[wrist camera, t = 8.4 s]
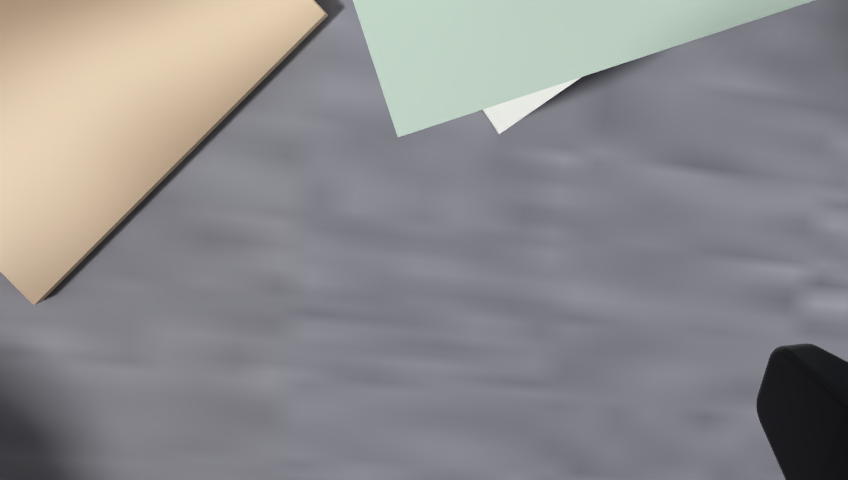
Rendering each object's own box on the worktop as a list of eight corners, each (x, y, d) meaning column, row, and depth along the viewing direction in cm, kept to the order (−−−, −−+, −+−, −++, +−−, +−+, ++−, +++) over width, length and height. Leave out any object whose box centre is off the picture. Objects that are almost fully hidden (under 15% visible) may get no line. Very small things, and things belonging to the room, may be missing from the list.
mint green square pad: (328, 15, 20) (325, 14, 20) (41, 301, 22) (33, 304, 22) (10, -332, 19) (0, -340, 19) (-261, -3, 21) (-274, -5, 21)
